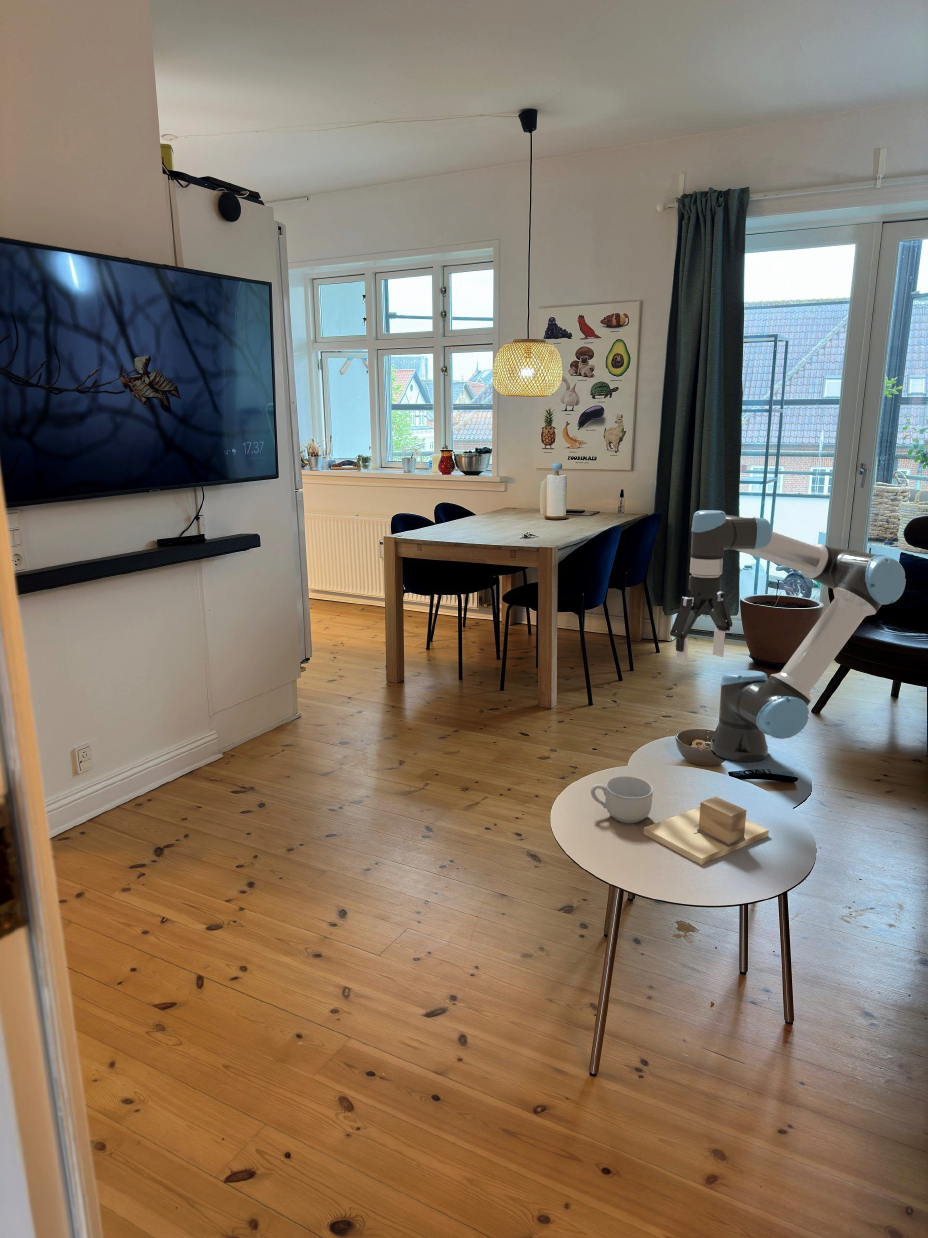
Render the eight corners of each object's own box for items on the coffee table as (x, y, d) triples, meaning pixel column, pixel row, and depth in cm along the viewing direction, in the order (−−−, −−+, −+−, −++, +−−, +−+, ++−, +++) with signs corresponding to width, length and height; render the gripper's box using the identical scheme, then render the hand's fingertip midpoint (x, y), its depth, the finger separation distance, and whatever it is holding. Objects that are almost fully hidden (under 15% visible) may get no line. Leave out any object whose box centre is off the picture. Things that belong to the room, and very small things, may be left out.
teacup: (655, 811, 190) (657, 779, 188) (647, 832, 180) (649, 798, 178) (596, 801, 195) (597, 770, 193) (585, 821, 185) (586, 788, 183)
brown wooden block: (713, 825, 180) (715, 795, 178) (745, 840, 173) (747, 810, 171) (697, 831, 177) (699, 801, 175) (728, 847, 170) (731, 816, 168)
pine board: (709, 809, 191) (710, 803, 191) (768, 836, 178) (768, 829, 178) (643, 834, 179) (643, 827, 179) (701, 865, 166) (701, 858, 166)
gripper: (726, 568, 206) (720, 649, 210) (657, 577, 192) (653, 664, 197) (751, 572, 200) (744, 655, 204) (682, 582, 186) (677, 671, 191)
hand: (700, 659), depth 201 cm, fingers open, 13 cm apart
